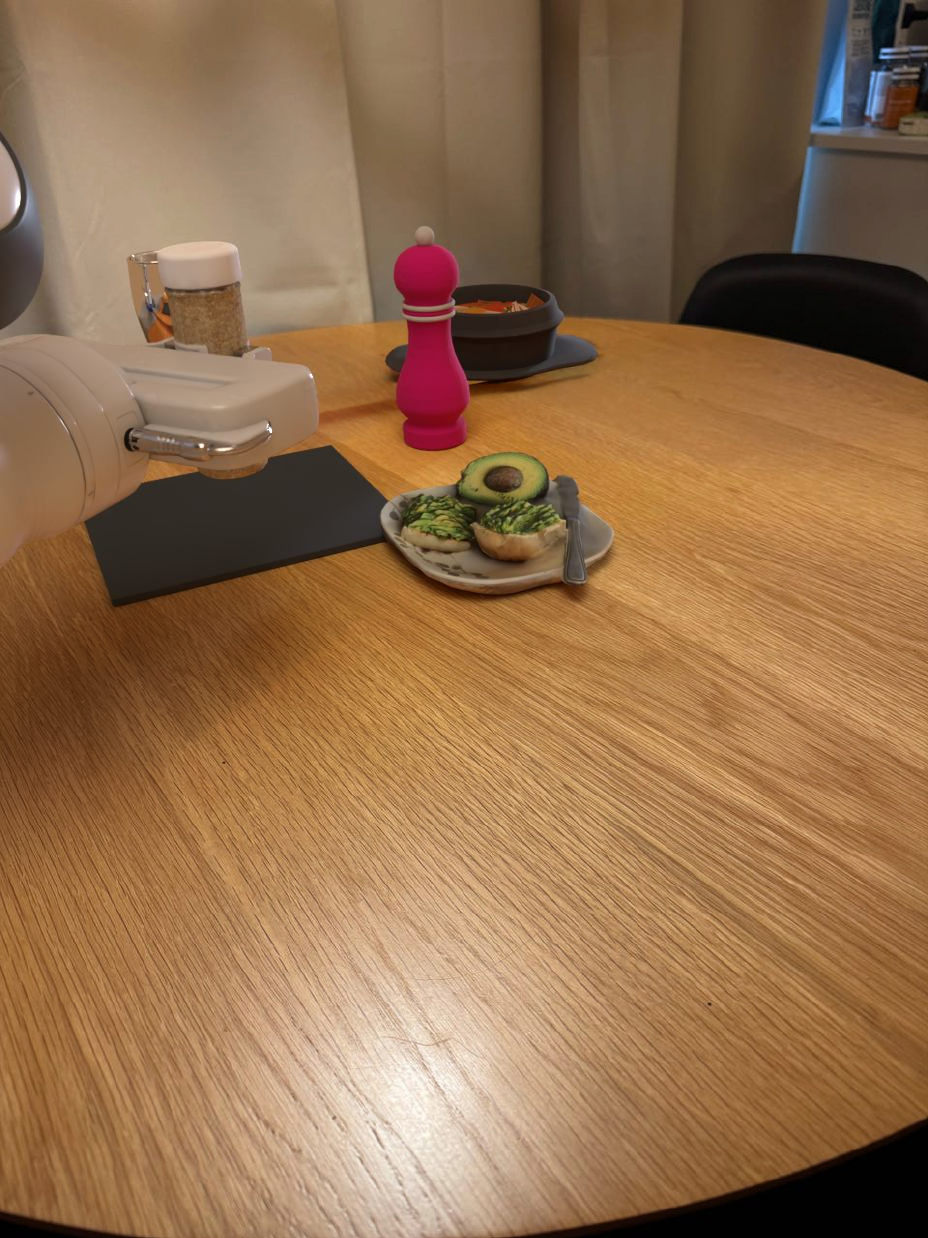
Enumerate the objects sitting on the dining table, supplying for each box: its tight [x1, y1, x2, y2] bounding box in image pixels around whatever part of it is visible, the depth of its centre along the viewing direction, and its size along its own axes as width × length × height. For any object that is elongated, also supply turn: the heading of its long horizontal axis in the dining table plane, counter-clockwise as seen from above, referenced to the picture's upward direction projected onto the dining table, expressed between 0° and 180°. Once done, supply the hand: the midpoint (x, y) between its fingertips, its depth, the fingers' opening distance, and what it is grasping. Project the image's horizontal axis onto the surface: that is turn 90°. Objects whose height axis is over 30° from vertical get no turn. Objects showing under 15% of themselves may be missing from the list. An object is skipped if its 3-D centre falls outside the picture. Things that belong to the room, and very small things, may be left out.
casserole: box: [384, 283, 598, 385], centre depth 113 cm, size 25×19×8 cm
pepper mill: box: [393, 225, 471, 451], centre depth 92 cm, size 7×7×20 cm
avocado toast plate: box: [380, 451, 615, 595], centre depth 75 cm, size 19×18×5 cm
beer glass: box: [126, 249, 174, 343], centre depth 109 cm, size 7×7×15 cm
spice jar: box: [157, 240, 268, 479], centre depth 59 cm, size 5×5×14 cm
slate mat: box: [83, 444, 389, 607], centre depth 83 cm, size 24×21×1 cm
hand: (223, 354), depth 59 cm, fingers closed on spice jar, 4 cm apart
